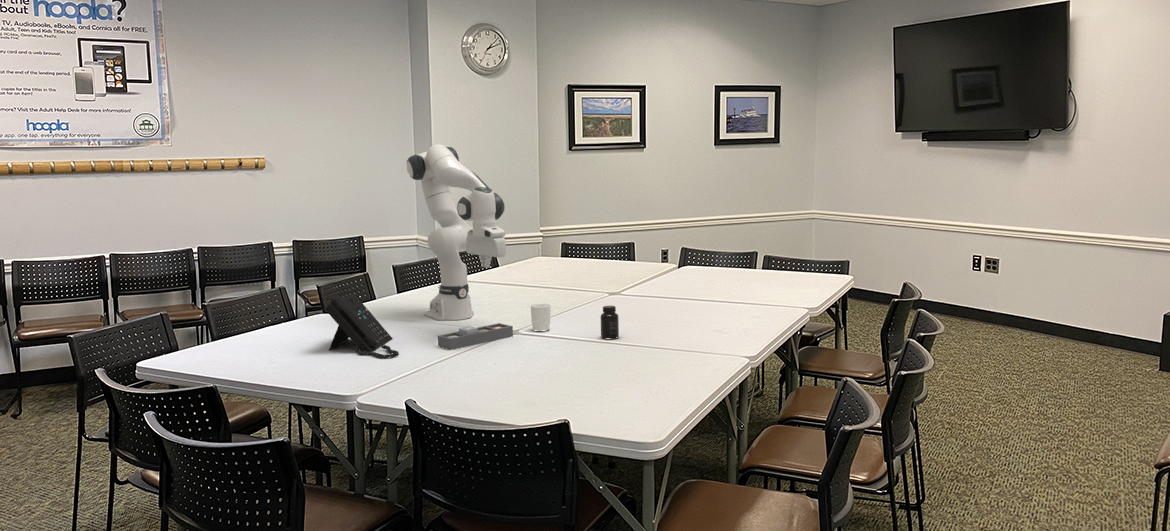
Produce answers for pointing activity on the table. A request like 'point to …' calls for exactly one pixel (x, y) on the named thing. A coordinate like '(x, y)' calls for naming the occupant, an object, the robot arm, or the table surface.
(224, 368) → the table surface
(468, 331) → the key
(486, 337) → the dark grey holder tray
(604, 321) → the supplement bottle
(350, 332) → the office phone
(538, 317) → the white cup
